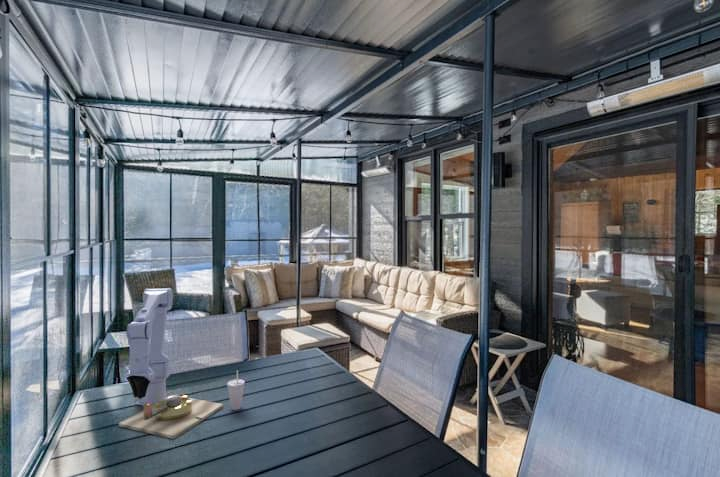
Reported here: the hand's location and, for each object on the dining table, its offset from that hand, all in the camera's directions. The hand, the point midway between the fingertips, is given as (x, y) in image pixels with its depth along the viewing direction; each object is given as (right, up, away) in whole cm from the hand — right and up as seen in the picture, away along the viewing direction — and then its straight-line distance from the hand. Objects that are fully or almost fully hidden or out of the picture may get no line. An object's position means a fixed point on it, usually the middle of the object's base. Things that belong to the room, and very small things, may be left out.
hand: (139, 396), depth 131 cm
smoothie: (+28, -10, +15) cm, 33 cm away
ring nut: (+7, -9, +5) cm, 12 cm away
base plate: (+8, -10, +8) cm, 15 cm away
